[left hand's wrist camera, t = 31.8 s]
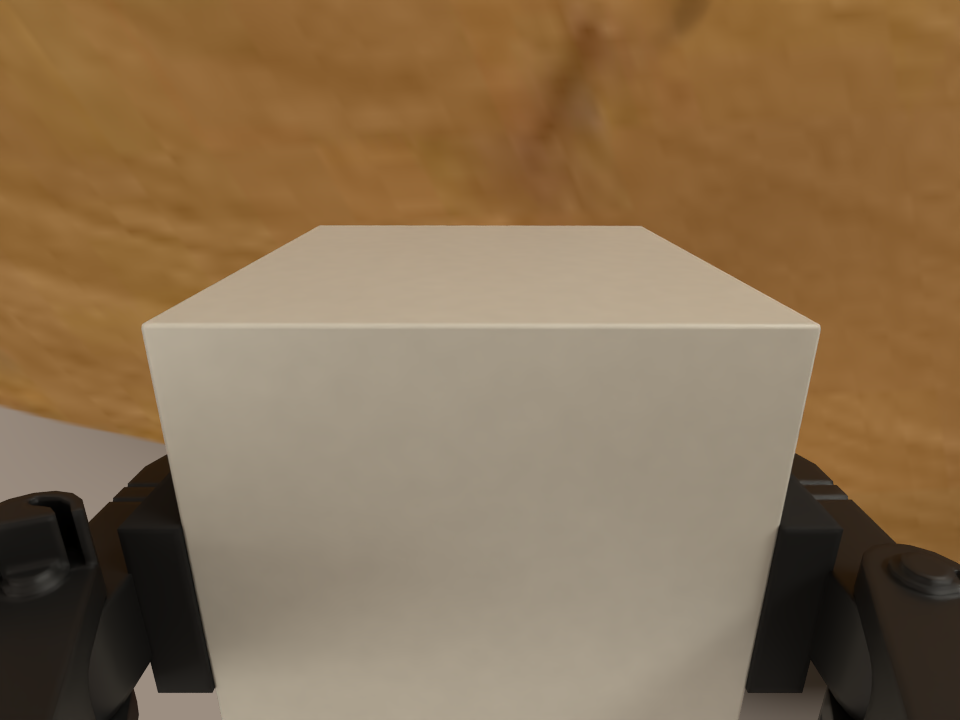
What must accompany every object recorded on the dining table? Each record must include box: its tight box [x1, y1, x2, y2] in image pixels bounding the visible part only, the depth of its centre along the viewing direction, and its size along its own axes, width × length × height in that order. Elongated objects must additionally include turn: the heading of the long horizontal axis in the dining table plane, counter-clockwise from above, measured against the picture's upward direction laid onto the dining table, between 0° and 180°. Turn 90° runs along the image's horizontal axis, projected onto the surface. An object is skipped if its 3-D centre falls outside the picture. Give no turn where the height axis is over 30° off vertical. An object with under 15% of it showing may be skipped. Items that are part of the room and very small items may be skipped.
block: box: [142, 226, 821, 720], centre depth 12 cm, size 7×8×8 cm
